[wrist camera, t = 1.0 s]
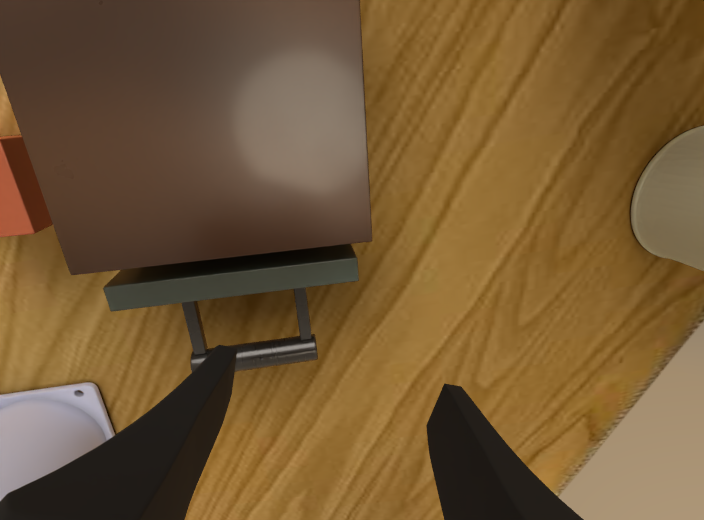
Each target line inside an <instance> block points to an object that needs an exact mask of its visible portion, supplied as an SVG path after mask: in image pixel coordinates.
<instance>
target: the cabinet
mask: <svg viewBox="0 0 704 520" xmlns="http://www.w3.org/2000/svg"><path fill="white" fill-rule="evenodd" d="M0 75H1V78H2V81H3V83H4V86H5V89H6V92H7V95H8V98H9V101H10V103H11V106H12V109H13V112H14V115H15V118H16V120H17V123H18V126H19V129H20V132H21V135H22V137H23V140H24V143H25V146H26V149H27V152H28V155H29V157H30V160H31V163H32V166H33V169H34V172H35V174H36V177H37V180H38V183H39V186H40V189H41V191H42V194H43V197H44V200H45V203H46V206H47V209H48V211H49V214H50V217H51V220H52V223H53V226H54V228H55V231H56V234H57V237H58V240H59V243H60V245H61V248H62V251H63V254H64V257H65V260H66V263H67V265H68V268H69V271H70V274H71V275H78V274H87V273H96V272H105V271H113V270H122V269H131V268H140V267H149V266H158V265H166V264H175V263H184V262H193V261H202V260H210V259H219V258H228V257H237V256H246V255H254V254H263V253H272V252H281V251H290V250H299V249H307V248H316V247H325V246H334V245H343V244H351V243H360V242H369V241H372V226H371V207H370V188H369V169H368V150H367V131H366V112H365V93H364V74H363V55H362V36H361V17H360V0H0Z"/></svg>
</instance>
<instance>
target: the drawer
mask: <svg viewBox="0 0 704 520" xmlns="http://www.w3.org/2000/svg"><path fill="white" fill-rule="evenodd" d="M358 280H359V277H358V262H357V257H356V255H355V252H354V250H353V248H352V246H351V244H343V245H334V246H325V247H316V248H307V249H299V250H290V251H281V252H272V253H263V254H254V255H246V256H237V257H228V258H219V259H210V260H202V261H193V262H184V263H175V264H166V265H158V266H149V267H140V268H131V269H122V270H121V271H120V272H119V273H118V274H117V275H116V276H115V277H114V278H113V279H112V280H111V281H110V282H109V283H108V284H107V285H105V286H104V288H103V289H104V292H105V295H106V298H107V301H108V304H109V307H110V310H111V311H119V310H127V309H135V308H143V307H151V306H159V305H167V304H176V303H182V307H183V311H184V315H185V319H186V323H187V327H188V331H189V335H190V339H191V343H192V347H193V352H192V355H191V370H192V372H193V371H194V370H195V369H196V368H197V367H198V366H199V365H200V364H201V363H202V362H203V361H204V360H205V359H206V358H207V356H208V355H209V354H210V353H211V352H212V351H213V349H214V348H209V349H207V348H208V346H207V342H206V338H205V334H204V329H203V325H202V321H201V316H200V312H199V308H198V304H197V301H200V300H208V299H216V298H224V297H232V296H240V295H248V294H256V293H264V292H272V291H280V290H288V289H294V295H295V302H296V310H297V317H298V325H299V332H300V336H296V337H289V338H281V339H274V340H267V341H259V342H252V343H245V344H238V345H230V346H228V347H234V348H238V350H237V357H236V365H235V372H237V371H244V370H251V369H258V368H264V367H271V366H278V365H285V364H292V363H299V362H306V361H313V360H317V359H318V355H317V347H316V338H315V334H311V327H310V319H309V311H308V303H307V295H306V287H312V286H320V285H328V284H336V283H345V282H353V281H358Z"/></svg>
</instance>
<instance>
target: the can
mask: <svg viewBox="0 0 704 520" xmlns="http://www.w3.org/2000/svg"><path fill="white" fill-rule="evenodd" d="M631 223H632V228H633V231H634V234H635V236H636V238H637V240H638V241H639V243H640V244H641V245H642V246H643V247H644V248H645V249H646V250H647V251H649V252H650V253H652V254H654V255H656V256H659V257H663V258H669V259H672V260H675V261H678V262H681V263H684V264H686V265H689V266H691V267H694V268H697V269H699V270H702V271H704V126H700V127H697V128H694V129H691V130H689V131H686V132H684V133H683V134H681V135H679V136H677V137H676V138H674V139H673V140H672V141H670V142H669V143H668V144H667V145H665V146H664V147H663V148H662V149H661V150H660V151H659V152H658V153H657V154H656V155H655V156H654V158H653V159H652V160H651V161H650V163H649V164H648V165H647V167H646V169H645V170H644V172H643V173H642V175H641V177H640V179H639V181H638V184H637V186H636V189H635V192H634V195H633V199H632V205H631Z"/></svg>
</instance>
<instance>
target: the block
mask: <svg viewBox="0 0 704 520" xmlns="http://www.w3.org/2000/svg"><path fill="white" fill-rule="evenodd" d="M52 224H53V223H52V220H51V217H50V214H49V211H48V209H47V206H46V203H45V200H44V197H43V194H42V191H41V189H40V186H39V183H38V180H37V177H36V174H35V172H34V169H33V166H32V163H31V160H30V157H29V155H28V152H27V149H26V146H25V143H24V140H23V137H22V135H18V136H4V137H0V237H6V236H16V235H26V234H35V233H37V232H38V231H40V230H42V229H44V228H46V227H48V226H50V225H52Z"/></svg>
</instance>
